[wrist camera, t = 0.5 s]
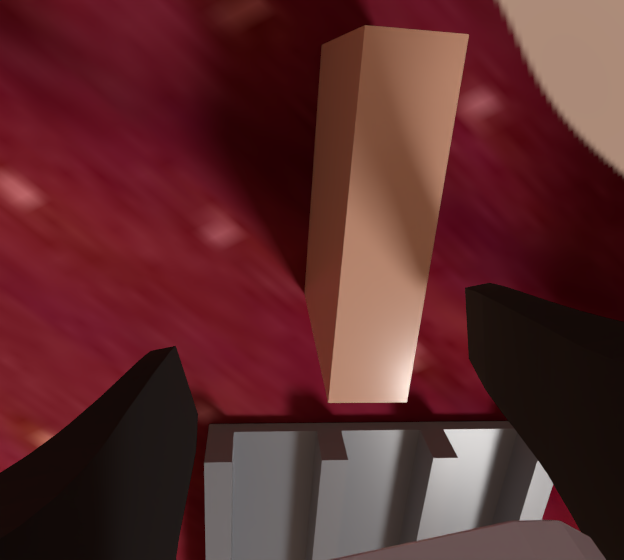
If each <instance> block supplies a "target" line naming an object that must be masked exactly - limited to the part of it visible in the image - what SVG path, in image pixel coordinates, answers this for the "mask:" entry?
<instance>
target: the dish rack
mask: <svg viewBox="0 0 624 560" xmlns="http://www.w3.org/2000/svg"><path fill="white" fill-rule="evenodd" d="M552 486H553V483H552V481H551V479H550V478H549V476H548V474H547V473H546V471H545V470H544V469H543V467H542V466H541V464H540V463H539V461H538V460H537V458H536V457H535V456H534V454H533V453H532V452H531V450H530V449H529V448H528V446H527V445H526V444H525V442H524V441H523V440H522V438H521V437H520V436H519V434H518V433H517V432H516V430H515V429H514V428H513V426H512V425H511V424H510V422H509V421H466V422H367V423H268V424H209V430H208V438H207V445H206V452H205V460H204V487H205V548H206V560H330V559H335V558H339V557H344V556H349V555H353V554H358V553H363V552H367V551H372V550H377V549H381V548H386V547H391V546H395V545H400V544H405V543H409V542H414V541H419V540H423V539H428V538H433V537H437V536H442V535H447V534H451V533H456V532H461V531H465V530H470V529H475V528H479V527H484V526H489V525H494V524H498V523H503V522H508V521H518V520H542V517H543V513H544V510H545V507H546V504H547V501H548V498H549V495H550V492H551V489H552Z"/></svg>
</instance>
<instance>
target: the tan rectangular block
mask: <svg viewBox="0 0 624 560" xmlns="http://www.w3.org/2000/svg"><path fill="white" fill-rule="evenodd" d="M468 37H469V34H459V33H448V32H437V31H425V30H414V29H403V28H391V27H380V26H369V25H364V26H362V27H360V28H358V29H355V30H353V31H351V32H349V33H347V34H344V35H342V36H340V37H338V38H336V39H333V40H331V41H329V42H327V43H325V44H322V47H321V61H320V76H319V90H318V105H317V119H316V134H315V148H314V163H313V177H312V192H311V206H310V221H309V235H308V250H307V264H306V279H305V293H304V294H305V298H306V303H307V308H308V312H309V317H310V321H311V326H312V331H313V335H314V340H315V344H316V349H317V354H318V358H319V363H320V367H321V372H322V377H323V381H324V386H325V390H326V395H327V400H328V403H390V402H407V399H408V393H409V387H410V381H411V375H412V369H413V363H414V357H415V351H416V345H417V339H418V333H419V327H420V322H421V316H422V310H423V304H424V298H425V292H426V286H427V280H428V274H429V268H430V262H431V256H432V250H433V245H434V239H435V233H436V227H437V221H438V215H439V209H440V203H441V197H442V191H443V185H444V179H445V173H446V168H447V162H448V156H449V150H450V144H451V138H452V132H453V126H454V120H455V114H456V108H457V102H458V96H459V91H460V85H461V79H462V73H463V67H464V61H465V55H466V49H467V43H468Z"/></svg>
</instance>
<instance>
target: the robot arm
mask: <svg viewBox="0 0 624 560" xmlns="http://www.w3.org/2000/svg"><path fill="white" fill-rule="evenodd" d="M465 294H466V313H467V331H468V350H469V359H470V361H471V363H472V365H473V367H474V369H475V371H476V373H477V375H478V377H479V379H480V380H481V382H482V384H483V386H484V388H485V389H486V391H487V392H488V394H489V395H490V397H491V398H492V399H493V401H494V402H495V403H496V405H497V406H498V407H499V409H500V410H501V412H502V413H503V414H504V416H505V417H506V418H507V420H508V421H509V422H510V424H511V425H512V426H513V428H514V429H515V430H516V432H517V433H518V434H519V436H520V437H521V438H522V440H523V441H524V442H525V444H526V445H527V446H528V448H529V449H530V450H531V452H532V453H533V454H534V456H535V457H536V458H537V460H538V461H539V463H540V464H541V466H542V467H543V469H544V470H545V471H546V473H547V474H548V476H549V478H550V479H551V481H552V483H553V484H554V486H555V488H556V489H557V491H558V493H559V494H560V496H561V498H562V499H563V501H564V503H565V505H566V506H567V508H568V510H569V511H570V513H571V515H572V516H573V518H574V520H575V522H576V524H577V525H578V527H579V529H580V531H581V532H580V531H578V530H576V529H574V528H572V527H570V526H568V525H567V524H565V523H563V522H561V521H556V520H518V521H508V522H503V523H498V524H494V525H489V526H484V527H479V528H475V529H470V530H465V531H461V532H456V533H451V534H447V535H442V536H437V537H433V538H428V539H423V540H419V541H414V542H409V543H405V544H400V545H395V546H391V547H386V548H381V549H377V550H372V551H367V552H363V553H358V554H353V555H349V556H344V557H339V558H335V559H330V560H624V322H622V321H617V320H613V319H609V318H605V317H601V316H598V315H594V314H590V313H586V312H583V311H579V310H576V309H573V308H569V307H566V306H563V305H560V304H556V303H553V302H550V301H547V300H544V299H541V298H538V297H535V296H532V295H529V294H526V293H523V292H520V291H517V290H514V289H511V288H508V287H504V286H501V285H497V284H492V283H487V284H482V285H477V286H472V287H467V288H465ZM197 421H198V413H197V410H196V407H195V404H194V401H193V398H192V395H191V392H190V389H189V385H188V382H187V379H186V376H185V373H184V370H183V367H182V364H181V361H180V358H179V355H178V352H177V349H176V346H173V347H168V348H163V349H158V350H153V351H150V352H149V353H148V354H146V355H145V356H144V357H143V358H141V359H140V360H139V361H138V362H137V363H136V364H135V365H134V366H133V367H132V368H131V369H130V370H129V371H127V372H126V373H125V374H124V375H123V376H122V377H121V378H120V379H119V380H118V381H117V382H116V383H115V384H114V385H113V386H112V387H111V388H109V389H108V390H107V391H106V392H105V393H104V394H103V395H102V396H101V397H100V398H99V399H98V400H96V401H95V402H94V403H93V404H92V405H91V406H90V407H88V408H87V409H86V410H85V411H84V412H83V413H81V414H80V415H79V416H78V417H77V418H76V419H75V420H73V421H72V422H71V423H70V424H69V425H67V426H66V427H65V428H64V429H62V430H61V431H60V432H59V433H57V434H56V435H55V436H53V437H52V438H51V439H49V440H48V441H47V442H45V443H44V444H43V445H41V446H40V447H38V448H37V449H36V450H34V451H33V452H32V453H30V454H29V455H27V456H26V457H24V458H23V459H21V460H20V461H18V462H17V463H15V464H13V465H12V466H10V467H9V468H7V469H6V470H4V471H2V472H1V473H0V560H176V554H177V548H178V541H179V535H180V530H181V525H182V520H183V515H184V510H185V504H186V499H187V494H188V489H189V484H190V479H191V474H192V469H193V464H194V458H195V453H196V442H197Z"/></svg>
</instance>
